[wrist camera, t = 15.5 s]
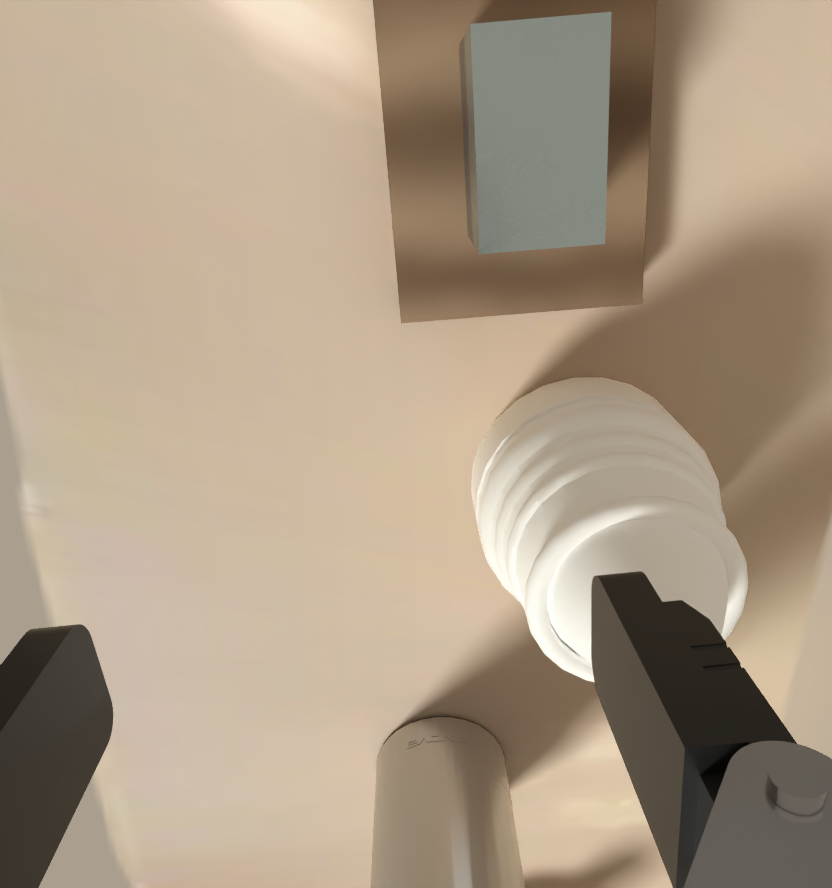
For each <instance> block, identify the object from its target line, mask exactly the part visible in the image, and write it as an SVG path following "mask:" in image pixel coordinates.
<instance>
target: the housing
mask: <svg viewBox="0 0 832 888" xmlns="http://www.w3.org/2000/svg"><path fill="white" fill-rule="evenodd" d="M611 13H612V12H603V13H591V14H580V15H568V16H556V17H545V18H533V19H522V20H510V21H498V22H487V23H475V24H470V26H469V27H468V29H467V31H466V33H465V35H464V37H463V39H462V40H461V42H460V44H459V60H460V81H461V103H462V124H463V146H464V167H465V189H466V210H467V232H468V237H469V239H470V240H471V242H472V243H473V245H474V246H475V248H476V249H477V251H478V252H479V254H488V253H500V252H513V251H525V250H538V249H550V248H563V247H575V246H587V245H600V244H605V234H606V197H607V160H608V123H609V87H610V50H611Z"/></svg>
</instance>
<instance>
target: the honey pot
mask: <svg viewBox="0 0 832 888" xmlns="http://www.w3.org/2000/svg"><path fill="white" fill-rule="evenodd" d="M471 493H472V499H473V504H474V510H475V515H476V520H477V525H478V529H479V536H480V539H481V543H482V546H483V550H484V554H485V557H486V560H487V562H488V563H489V565H490V567H491V568H492V570H493V571H494V573H495V574H496V576H497V578H498V579H499V581H500V582H501V584H502V585H503V587H504V588H505V589H507V590H508V591H509V592H510V593H511V594H512V595H513V596H515V597H516V599H517V600H518V601H519V602H520V603H521V604H522V606H523V607H524V609H525V613H526V617H527V621H528V625H529V629H530V632H531V634H532V635H533V637H534V639H535V640H536V642H537V643H538V645H539V646H540V648H541V650H542V651H543V653H544V654H545V655H546V656H547V657H549V658H550V659H551V660H552V661H553V662H554V663H556V664H557V665H558V666H559V667H560V668H562V669H563V670H565V671H567V672H569V673H571V674H574V675H576V676H578V677H580V678H582V679H584V680H587V681H591V682H595V681H594V676H593V669H592V659H591V587H592V580H593V577H594V576H597V575H607V574H617V573H628V572H638V571H642V572H643V573H644V574H645V575H646V576H647V578H648V580H649V581H650V583H651V584H652V586H653V588H654V589H655V591H656V592H657V594H658V596H659V597H660V599H661V600H662V602H666V601H677V600H683V601H684V602H685V603H687V604H688V605H690V606H691V607H693V608H694V609H696V610H697V611H699V612H700V613H702V614H703V615H704V616H706V617H707V618H709V619H710V620H711V622H712V623H713V625H714V626H715V628H716V629H717V630H718V632H719V633H720V635H721V636H722V637H723V639H724V640H726V638H727V637H728V636H729V635H730V634H731V632H732V631H733V629H734V627H735V625H736V623H737V621H738V619H739V617H740V616H741V614H742V612H743V609H744V605H745V600H746V596H747V591H748V586H749V582H748V573H747V563H746V559H745V557H744V555H743V552H742V550H741V548H740V546H739V544H738V542H737V540H736V537H735V536H734V535H733V534H732V533H731V532H730V530H729V529H728V528H727V527H726V518H725V515H724V513H723V511H722V505H721V496H720V488H719V481H718V479H717V476H716V474H715V472H714V470H713V468H712V466H711V463H710V461H709V459H708V457H707V455H706V453H705V451H704V450H703V448H702V447H701V446H700V445H699V444H698V443H697V442H696V441H695V440H694V439H693V438H692V437H691V436H690V434H689V433H688V432H687V431H686V430H685V429H684V428H683V427H682V426H681V425H680V424H679V423H678V422H677V421H676V420H675V419H674V418H673V417H672V416H671V415H670V414H669V413H668V412H667V411H666V410H665V408H664V407H663V406H662V405H661V404H660V403H659V402H658V401H657V400H656V399H655V398H653V397H652V396H650V395H648V394H646V393H645V392H643V391H641V390H640V389H638V388H636V387H634V386H633V385H631V384H627V383H623V382H619V381H616V380H612V379H608V378H604V377H574V378H569V379H565V380H562V381H558V382H554V383H550V384H546V385H543V386H541V387H539V388H538V389H536V390H534V391H532V392H530V393H528V394H526V395H525V396H523V397H521V398H519V399H517V400H516V401H515V402H514V403H513V404H512V405H511V406H510V407H508V408H507V409H506V410H505V411H504V412H503V413H502V414H501V415H500V416H499V417H497V418H496V419H495V421H494V422H493V424H492V425H491V427H490V429H489V430H488V432H487V433H486V435H485V436H484V438H483V439H482V441H481V442H480V445H479V448H478V451H477V454H476V458H475V461H474V464H473V467H472V491H471Z"/></svg>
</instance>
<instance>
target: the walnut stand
mask: <svg viewBox="0 0 832 888" xmlns="http://www.w3.org/2000/svg"><path fill="white" fill-rule="evenodd" d="M373 6H374V17H375V29H376V40H377V52H378V63H379V75H380V86H381V98H382V109H383V121H384V132H385V143H386V155H387V166H388V178H389V189H390V201H391V212H392V224H393V235H394V247H395V258H396V270H397V281H398V293H399V304H400V316H401V323H409V322H422V321H434V320H447V319H459V318H472V317H484V316H497V315H509V314H522V313H534V312H547V311H559V310H572V309H584V308H597V307H609V306H622V305H634V304H642V293H643V272H644V251H645V229H646V208H647V187H648V166H649V145H650V124H651V102H652V81H653V60H654V39H655V18H656V0H373ZM603 12H612V13H611V50H610V87H609V123H608V160H607V197H606V234H605V244H600V245H587V246H575V247H563V248H550V249H538V250H525V251H513V252H500V253H488V254H479V252H478V251H477V249H476V248H475V246H474V245H473V243H472V242H471V240H470V239H469V237H468V232H467V210H466V189H465V167H464V146H463V124H462V103H461V81H460V60H459V44H460V42H461V40H462V39H463V37H464V35H465V33H466V31H467V29H468V27H469V26H470V24H475V23H487V22H498V21H510V20H522V19H533V18H545V17H556V16H568V15H580V14H591V13H603Z"/></svg>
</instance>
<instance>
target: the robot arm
mask: <svg viewBox="0 0 832 888" xmlns="http://www.w3.org/2000/svg"><path fill="white" fill-rule="evenodd" d="M591 659H592V669H593V676H594V681H595V686H596V690H597V693H598V696H599V699H600V702H601V704H602V707H603V709H604V712H605V714H606V717H607V720H608V722H609V725H610V727H611V730H612V732H613V735H614V737H615V740H616V743H617V745H618V748H619V750H620V753H621V755H622V758H623V760H624V763H625V766H626V768H627V771H628V773H629V776H630V778H631V781H632V783H633V786H634V789H635V791H636V794H637V796H638V799H639V801H640V804H641V806H642V809H643V812H644V814H645V817H646V819H647V822H648V824H649V827H650V829H651V832H652V834H653V837H654V840H655V842H656V845H657V847H658V850H659V852H660V855H661V857H662V860H663V863H664V865H665V868H666V870H667V873H668V875H669V878H670V880H671V883H672V886H673V888H832V759H831V758H829V757H828V756H826V755H823V754H822V753H820V752H818V751H816V750H813V749H811V748H808V747H806V746H802V745H799V744H797V743H796V742H795V740H794V739H793V737H792V736H791V735H790V733H789V732H788V730H787V729H786V727H785V726H784V724H783V723H782V722H781V720H780V719H779V717H778V716H777V715H776V713H775V712H774V710H773V709H772V707H771V706H770V705H769V703H768V702H767V700H766V699H765V697H764V696H763V695H762V693H761V692H760V690H759V689H758V687H757V686H756V685H755V683H754V682H753V680H752V679H751V677H750V676H749V675H748V673H747V672H746V670H745V669H744V668H741V666H740V662H739V660H738V659H737V657H736V656H735V655H734V653H733V652H732V650H731V649H730V647H729V648H727V646H726V642H725V640H724V639H723V637H722V636H721V635H720V633H719V632H718V630H717V629H716V628H715V626H714V625H713V623H712V622H711V620H710V619H709V618H707V617H706V616H704V615H703V614H702V613H700V612H699V611H697V610H696V609H694V608H693V607H691V606H690V605H688V604H687V603H685V602H684V601H683V600H677V601H666V602H662V600H661V599H660V597H659V596H658V594H657V592H656V591H655V589H654V588H653V586H652V584H651V583H650V581H649V580H648V578H647V576H646V575H645V574H644V573H643V572H642V571H638V572H628V573H617V574H607V575H597V576H594V577H593V580H592V587H591ZM112 725H113V707H112V702H111V698H110V695H109V692H108V688H107V685H106V682H105V679H104V676H103V673H102V670H101V666H100V663H99V660H98V657H97V654H96V651H95V647H94V644H93V641H92V638H91V635H90V633H89V631H88V630H87V628H86V627H85V626H83V625H69V626H58V627H48V628H38V629H31V630H29V631H28V632H26V634H25V635H24V636H23V637H22V638H21V640H20V641H19V642H18V644H17V645H16V646H15V647H14V649H13V650H12V651H11V653H10V654H9V655H8V656H7V658H6V659H5V660H4V662H3V663H2V664H1V665H0V888H38V887H39V885H40V883H41V881H42V879H43V877H44V875H45V873H46V871H47V869H48V867H49V865H50V863H51V860H52V858H53V856H54V854H55V852H56V850H57V848H58V846H59V844H60V842H61V840H62V838H63V836H64V833H65V831H66V829H67V827H68V825H69V823H70V821H71V819H72V817H73V815H74V813H75V811H76V809H77V807H78V805H79V802H80V800H81V798H82V796H83V794H84V792H85V790H86V788H87V786H88V784H89V782H90V780H91V778H92V776H93V774H94V772H95V770H96V767H97V765H98V763H99V761H100V759H101V757H102V755H103V753H104V751H105V749H106V747H107V745H108V742H109V739H110V736H111V732H112ZM371 888H525V885H524V879H523V873H522V866H521V860H520V854H519V847H518V841H517V835H516V828H515V822H514V816H513V809H512V802H511V795H510V789H509V783H508V777H507V770H506V764H505V758H504V754H503V751H502V748H501V746H500V745H499V743H498V742H497V740H496V739H495V738H494V737H493V736H492V735H491V734H490V733H489V732H488V731H487V730H485V729H484V728H482V727H480V726H479V725H477V724H475V723H472V722H469V721H466V720H463V719H458V718H452V717H434V718H427V719H422V720H419V721H416V722H413V723H410V724H408V725H406V726H404V727H402V728H401V729H399V730H397V731H396V732H395V733H394V734H393V735H391V736H390V737H389V738H388V740H387V741H386V742H385V743H384V745H383V746H382V748H381V750H380V753H379V755H378V760H377V771H376V792H375V810H374V829H373V851H372V873H371Z"/></svg>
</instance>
